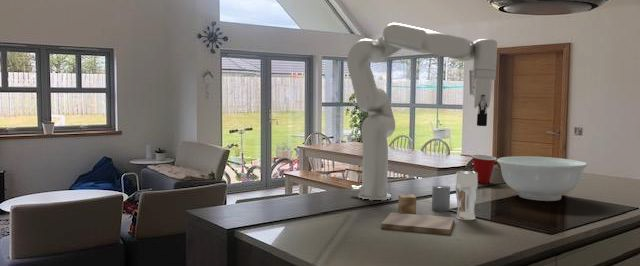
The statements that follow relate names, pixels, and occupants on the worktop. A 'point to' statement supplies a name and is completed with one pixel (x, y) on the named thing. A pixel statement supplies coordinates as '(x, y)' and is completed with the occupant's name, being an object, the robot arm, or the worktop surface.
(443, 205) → the cylinder
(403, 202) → the teak block
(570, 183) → the bowl
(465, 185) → the beer glass
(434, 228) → the walnut board
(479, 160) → the plastic cup
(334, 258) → the worktop surface
